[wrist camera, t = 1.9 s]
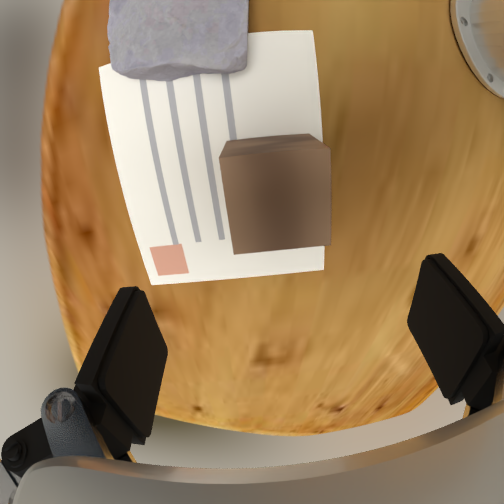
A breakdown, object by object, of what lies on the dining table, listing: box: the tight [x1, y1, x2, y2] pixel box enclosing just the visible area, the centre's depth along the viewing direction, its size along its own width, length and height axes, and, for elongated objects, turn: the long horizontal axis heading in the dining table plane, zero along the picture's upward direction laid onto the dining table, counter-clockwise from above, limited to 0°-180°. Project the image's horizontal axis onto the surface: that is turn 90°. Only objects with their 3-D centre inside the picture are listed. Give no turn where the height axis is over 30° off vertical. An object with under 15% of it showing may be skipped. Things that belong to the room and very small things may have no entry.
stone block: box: [107, 0, 249, 82], centre depth 14 cm, size 12×5×10 cm
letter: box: [99, 30, 324, 285], centre depth 21 cm, size 16×20×1 cm
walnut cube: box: [219, 133, 331, 255], centre depth 19 cm, size 6×6×6 cm
